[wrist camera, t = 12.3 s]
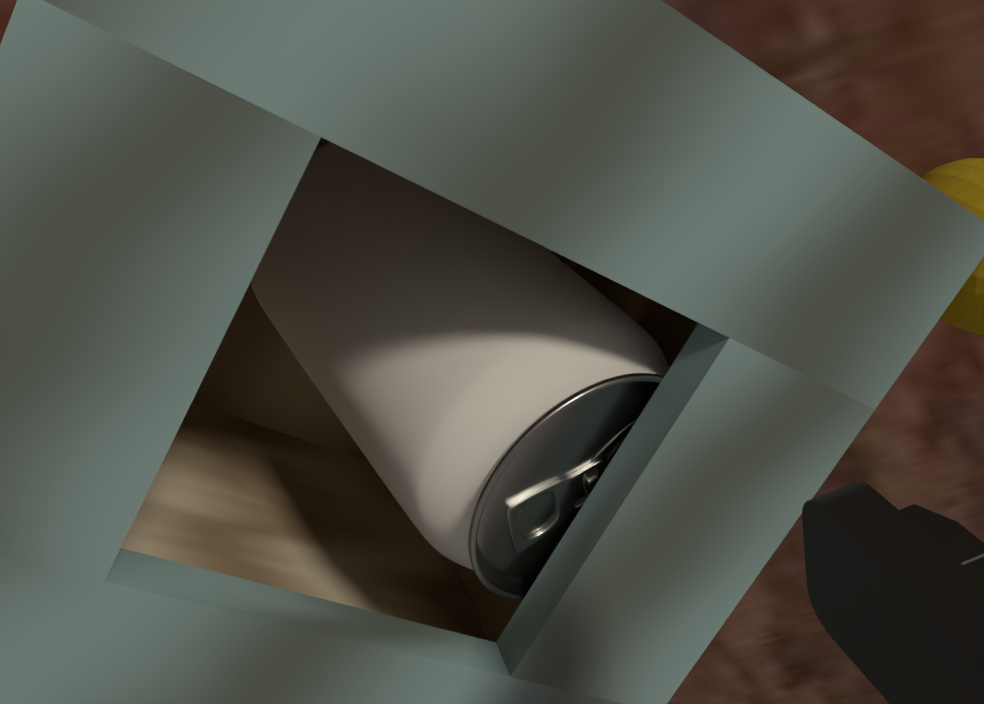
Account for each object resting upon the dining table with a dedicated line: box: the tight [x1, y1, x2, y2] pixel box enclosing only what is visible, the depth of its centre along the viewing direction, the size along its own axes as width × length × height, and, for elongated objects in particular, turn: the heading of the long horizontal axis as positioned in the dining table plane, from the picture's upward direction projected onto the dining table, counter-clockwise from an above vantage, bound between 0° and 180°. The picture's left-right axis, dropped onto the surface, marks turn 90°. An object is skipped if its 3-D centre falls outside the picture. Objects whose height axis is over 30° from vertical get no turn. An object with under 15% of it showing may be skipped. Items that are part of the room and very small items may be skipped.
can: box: [250, 143, 670, 601], centre depth 23 cm, size 6×6×12 cm
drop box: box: [0, 0, 984, 704], centre depth 22 cm, size 16×16×14 cm
